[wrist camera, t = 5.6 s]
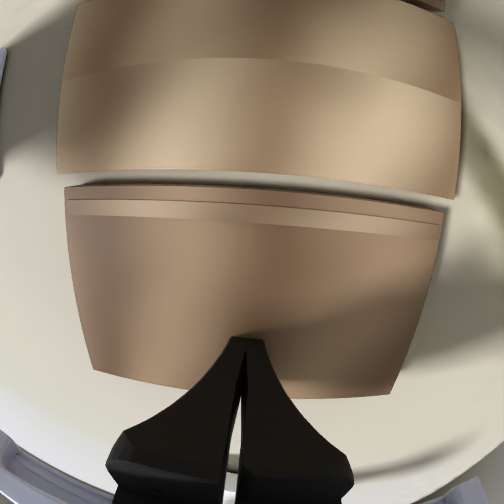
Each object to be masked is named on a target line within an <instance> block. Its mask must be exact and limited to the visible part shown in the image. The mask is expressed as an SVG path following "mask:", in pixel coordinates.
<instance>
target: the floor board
mask: <svg viewBox="0 0 504 504" xmlns="http://www.w3.org/2000/svg"><path fill="white" fill-rule="evenodd" d="M460 138H461V83H460V68H459V57H458V48H457V41H456V34H455V28H454V23H452V22H450V21H448V20H446V19H444V18H442V17H440V16H438V15H435V14H433V13H431V12H429V11H426V10H424V9H421V8H419V7H416V6H414V5H411V4H409V3H406V2H403V1H400V0H90V1H87V2H84V3H81V4H79V5H78V7H77V11H76V14H75V18H74V21H73V25H72V29H71V34H70V38H69V42H68V47H67V52H66V58H65V63H64V69H63V76H62V83H61V91H60V100H59V111H58V127H57V174H63V173H76V172H91V171H110V170H144V169H188V170H222V171H243V172H259V173H273V174H285V175H296V176H307V177H316V178H325V179H334V180H342V181H349V182H357V183H364V184H371V185H377V186H384V187H390V188H396V189H401V190H407V191H413V192H418V193H423V194H428V195H433V196H438V197H443V198H447V199H452V200H454V197H455V190H456V183H457V174H458V165H459V153H460Z"/></svg>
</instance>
